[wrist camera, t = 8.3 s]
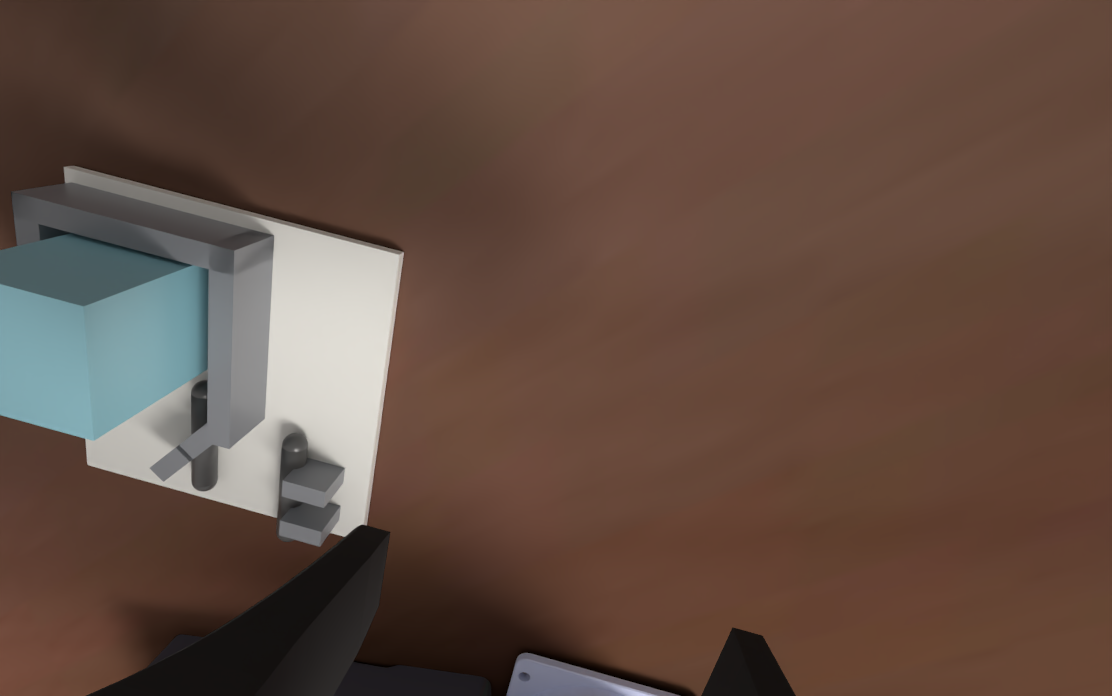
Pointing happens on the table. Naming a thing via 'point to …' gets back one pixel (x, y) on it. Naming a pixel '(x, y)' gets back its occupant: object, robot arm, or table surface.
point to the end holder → (192, 239)
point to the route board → (280, 384)
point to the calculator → (384, 678)
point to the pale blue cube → (96, 332)
